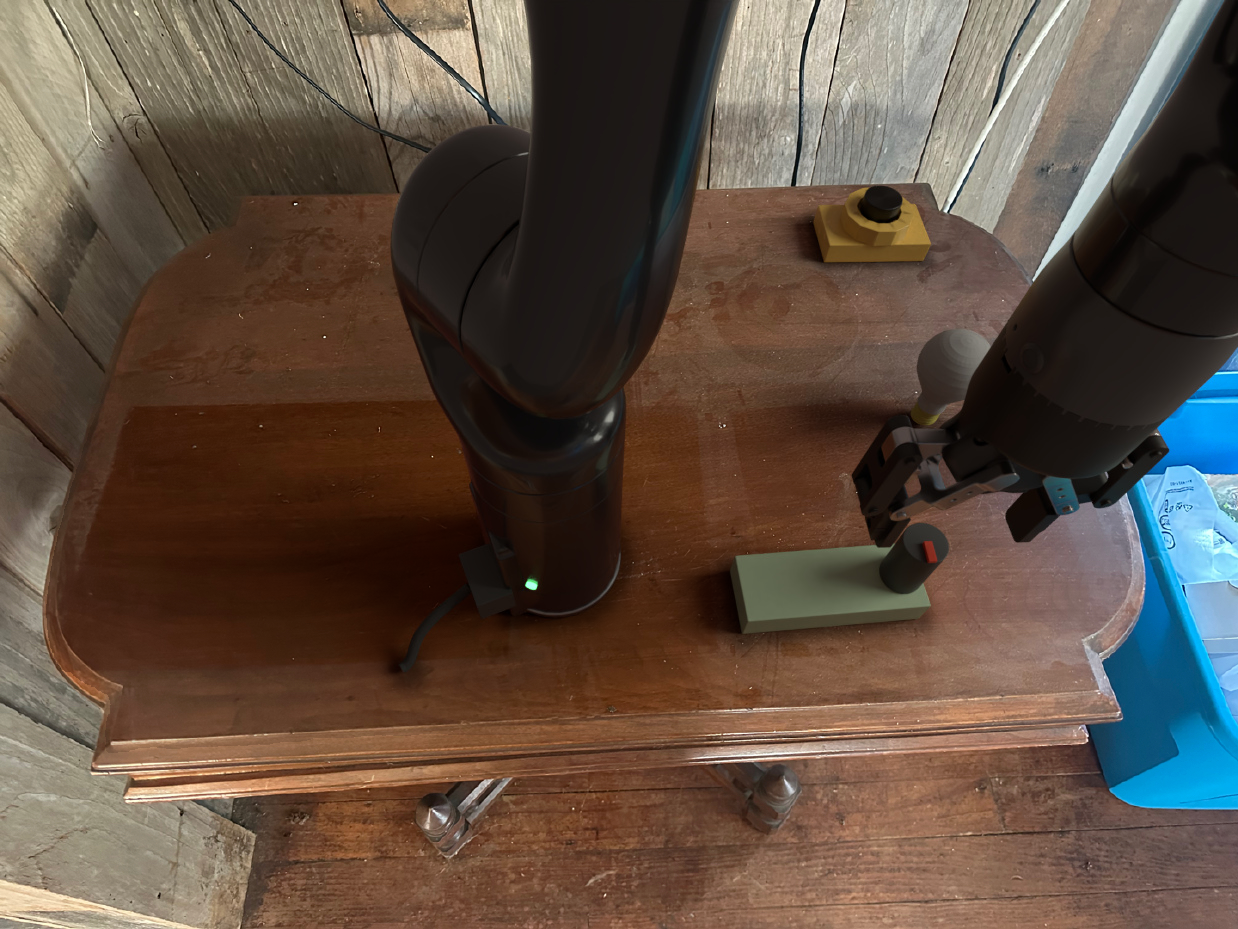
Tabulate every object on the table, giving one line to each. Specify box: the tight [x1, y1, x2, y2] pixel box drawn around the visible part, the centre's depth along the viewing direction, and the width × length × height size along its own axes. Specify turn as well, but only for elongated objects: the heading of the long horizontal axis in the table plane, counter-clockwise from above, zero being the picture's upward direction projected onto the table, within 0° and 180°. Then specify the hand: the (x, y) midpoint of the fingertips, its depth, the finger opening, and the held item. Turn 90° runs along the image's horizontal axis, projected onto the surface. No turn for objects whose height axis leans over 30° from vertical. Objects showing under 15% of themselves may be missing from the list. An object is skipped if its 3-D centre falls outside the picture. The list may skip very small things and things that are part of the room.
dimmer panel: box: [729, 542, 932, 635], centre depth 54 cm, size 13×5×2 cm, turn 95°
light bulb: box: [910, 328, 992, 427], centre depth 60 cm, size 5×6×10 cm
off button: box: [860, 184, 903, 223], centre depth 72 cm, size 4×4×2 cm
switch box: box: [812, 187, 932, 263], centre depth 74 cm, size 10×6×4 cm, turn 92°
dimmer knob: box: [879, 522, 950, 594], centre depth 51 cm, size 3×3×5 cm
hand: (946, 531), depth 45 cm, fingers open, 8 cm apart
